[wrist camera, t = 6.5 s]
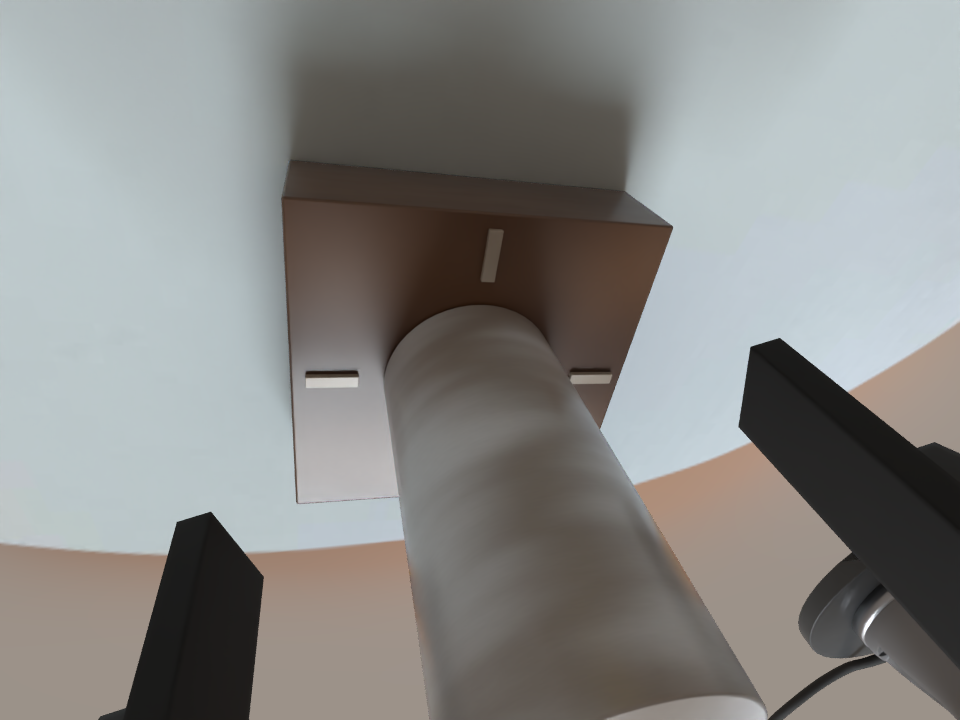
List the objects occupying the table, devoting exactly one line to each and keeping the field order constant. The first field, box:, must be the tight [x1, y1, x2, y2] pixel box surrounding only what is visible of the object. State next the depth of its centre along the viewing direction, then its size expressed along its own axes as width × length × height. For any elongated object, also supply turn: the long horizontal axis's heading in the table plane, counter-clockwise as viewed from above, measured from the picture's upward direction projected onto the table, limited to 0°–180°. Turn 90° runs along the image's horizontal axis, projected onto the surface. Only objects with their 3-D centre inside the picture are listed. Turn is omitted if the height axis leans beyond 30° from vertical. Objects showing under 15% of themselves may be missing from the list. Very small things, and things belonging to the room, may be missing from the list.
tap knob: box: [384, 305, 768, 720], centre depth 12 cm, size 5×5×10 cm
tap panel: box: [281, 160, 673, 504], centre depth 17 cm, size 10×10×3 cm
